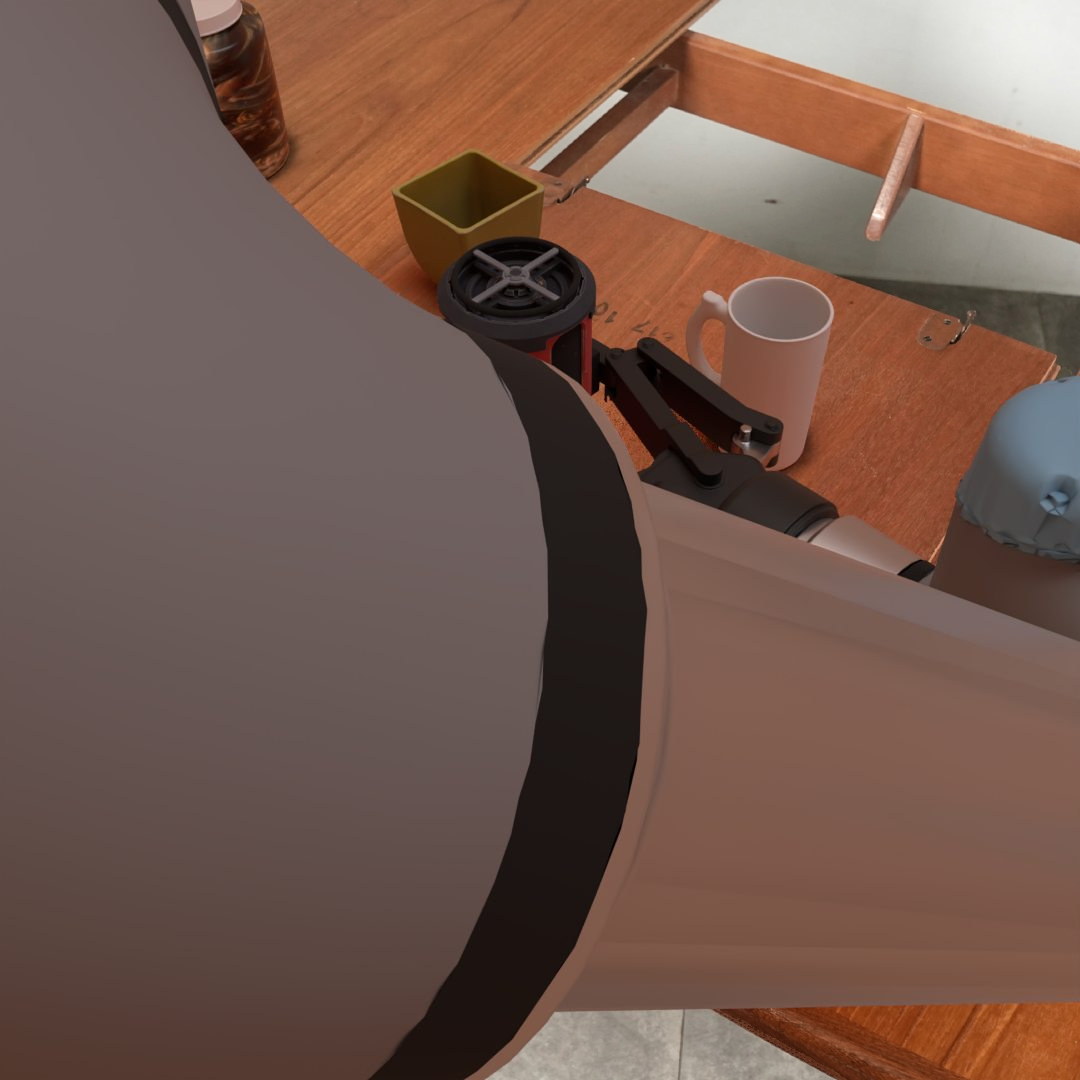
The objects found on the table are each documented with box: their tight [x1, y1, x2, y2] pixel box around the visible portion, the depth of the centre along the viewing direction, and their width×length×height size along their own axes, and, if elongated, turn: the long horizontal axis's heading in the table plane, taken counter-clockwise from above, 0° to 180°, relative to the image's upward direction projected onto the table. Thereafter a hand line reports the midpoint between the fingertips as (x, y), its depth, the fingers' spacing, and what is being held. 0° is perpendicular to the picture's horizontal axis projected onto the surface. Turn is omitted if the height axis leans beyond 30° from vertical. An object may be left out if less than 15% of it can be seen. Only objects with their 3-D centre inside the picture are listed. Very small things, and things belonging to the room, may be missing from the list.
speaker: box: [436, 236, 597, 397], centre depth 64 cm, size 8×8×18 cm
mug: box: [685, 276, 835, 471], centre depth 82 cm, size 10×7×12 cm, turn 53°
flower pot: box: [391, 147, 546, 286], centre depth 96 cm, size 9×9×9 cm
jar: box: [191, 0, 290, 180], centre depth 108 cm, size 12×12×15 cm
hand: (459, 356), depth 66 cm, fingers closed on speaker, 7 cm apart
